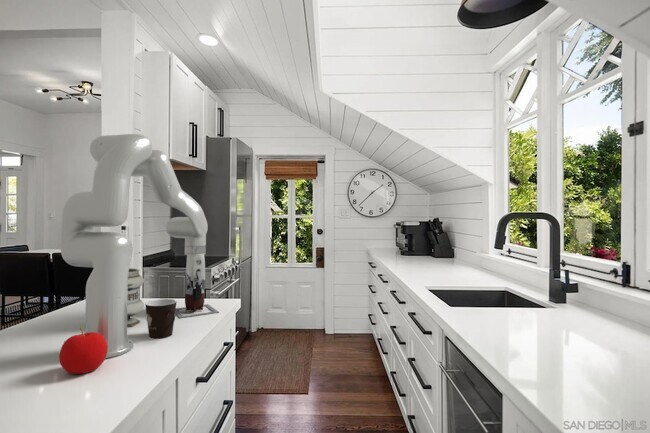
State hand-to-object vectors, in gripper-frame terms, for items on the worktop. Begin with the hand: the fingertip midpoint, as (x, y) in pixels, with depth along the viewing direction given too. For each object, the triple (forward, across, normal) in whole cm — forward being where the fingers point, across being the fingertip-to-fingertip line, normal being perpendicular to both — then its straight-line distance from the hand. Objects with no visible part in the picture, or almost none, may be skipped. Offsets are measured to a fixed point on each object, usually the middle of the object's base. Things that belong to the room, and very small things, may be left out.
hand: (194, 296), depth 133 cm
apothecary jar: (+6, -4, +24) cm, 25 cm away
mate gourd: (+5, 0, 0) cm, 5 cm away
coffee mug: (+6, -24, +16) cm, 29 cm away
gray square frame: (+6, 0, 0) cm, 6 cm away
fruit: (+7, -39, +35) cm, 52 cm away
